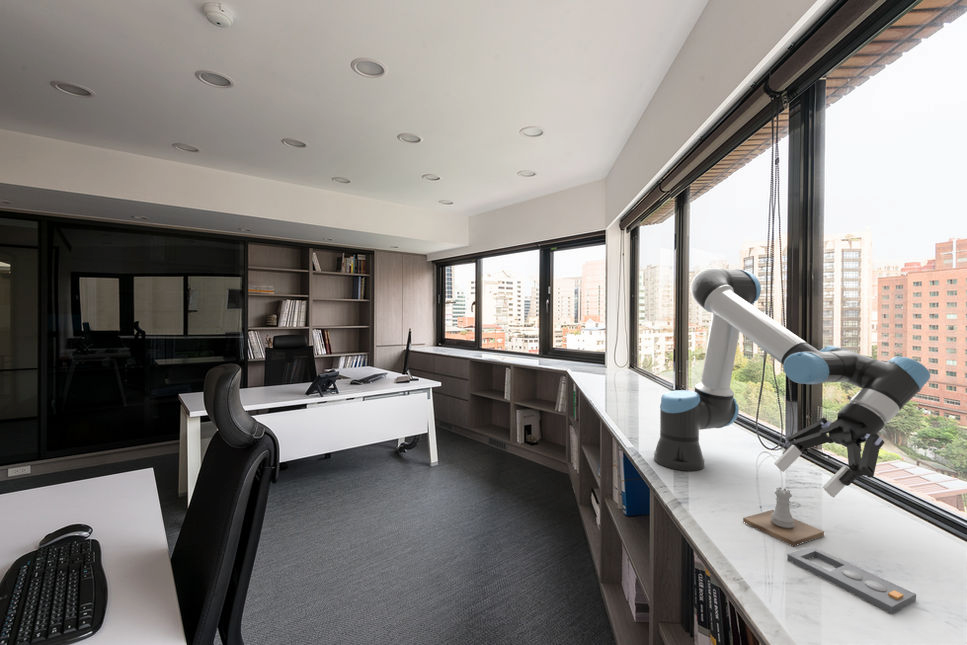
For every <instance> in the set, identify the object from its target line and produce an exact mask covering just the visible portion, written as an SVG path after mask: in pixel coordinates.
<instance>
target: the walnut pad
mask: <svg viewBox="0 0 967 645" xmlns="http://www.w3.org/2000/svg"><path fill="white" fill-rule="evenodd" d="M774 510H775V509H770V510H766V511H763V512H759V513H756V514H752V515H748V516H746V517H742V520H743V521H742V523H744V522H745V523H744V524H746V523H747V524H746V525H748V526H750V527H752V528H755V529H757V530H759V531H761V532H763V533H765V534H766V535H769V536H771V537H774V538H775V539H777V540H779V541H781V542H783V541H784V543H785V542H786V543H785V544H787V543H788V545H790V544H791V545H790V546H792V545H793V546H792V547H796V546H798V545H797V544H799V545H801V544H800V543H802V542H805V543H807V542H806V541H808V542H810V541H809V540H811V541H813V540H816V539H818V538H821V537H824V536H825V531H824V530H822V529H820V528H817V527H815V526H812V525H810V524H808V523H806V522H804V521H800V520H798V519H796V518H793V517H792V518H793V519H794V522H793V523H794V527H792V528H790V529H788V528H782V527H779V526H777V525H775V524H773V523H772V521H771V518H772V517H771V514H772V513H773V512H774ZM815 538H816V539H815ZM812 539H813V540H812ZM802 544H803V543H802ZM795 545H796V546H795Z"/></svg>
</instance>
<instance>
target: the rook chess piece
mask: <svg viewBox="0 0 967 645" xmlns="http://www.w3.org/2000/svg"><path fill="white" fill-rule="evenodd" d="M774 494H775V495H776V498H775V502H776V504H775V508H774V509H773V510H774V512H773V513H772V514H771V517H772V518H771V521H772V523H773V524H775V525H777V526H779V527H782V528H788V529H790V528H792V527H794V523H793V522H794V519H795V518H794V519H793V517H792V516H793V515H792V514H791V510H790V504H791V500H790V499H791V498H792V496H793V495H792V494H791V490H789V489H787V488H785V487H784V488H783V489H782V487H776V490H775V491H774Z"/></svg>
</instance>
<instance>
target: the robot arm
mask: <svg viewBox="0 0 967 645" xmlns="http://www.w3.org/2000/svg"><path fill="white" fill-rule="evenodd" d="M689 290H690V294H691V297H692V298H693V300H694V301H695V302H696V303H697V304H698V305H699V306H700V307H702V308H703V309H704V310H705V311H706V312H708V313H711V320H710V326H709V330H708V337H707V343H706V350H705V355H704V363H703V367H702V374H701V381H700V382H699V383H697V384H695V386H694V391H693V390H689V389H688V390H686V389H682V390H679V389H678V390H670V391H667V392H664V393H663V394H662V396H661V397H660V405H659V408H660V411H659V413H660V414H659V415H660V417H659V418H660V419H659V420H660V422H659V423H660V424H659V425H660V426H659V430H660V431H659V440H658V441H657V445H656V447H655V450H654V453H653V460H654V461H655V462H656V463H657V464H659V465H661V466H663V467H666V468H668V469H669V468H670V469H674V470H677V471H686V472H687V471H690V472H692V471H695V472H696V471H700V470H703V469H704V468H705V458H704V456H703V452H702V448H701V445H700V442H699V441H700V438H699V437H700V431H701V430H702V431H703V430H709V429H721V428H724V427H729V426H731V425H732V424H733V423H735V422H736V420H737V418H738V416H739V412H740V409H739V408H740V407H739V404H738V403H737V399H736V398H735V397H734V396H735V393H734V391H733V390H732V388H731V387H730V386H731V381H732V377H733V375H732V374H733V370H734V365H735V359H736V352H737V347H738V342H739V337H740V333H741V334H742V335H744V336H745V337H746V338H747V339H749V340H750V341H751V342H753V343H754V344H755V345H757V346H758V347H760V349H762V350H763V352H766V353H767V354H768V355H770V356H771V357H772V358H773V359H775V360H776V361H777V362H779V363H780V364H781V365H783V371H784V374H785V376H786V377H787V378H788V379H789V380H791V381H792V382H793V383H797V384H802V385H804V384H805V385H818V384H826V383H840V382H841V383H842V382H843V383H844V382H845V383H847V384H848V383H849V384H851V385H853V386H856V387H858V388H861V389H860V390H859V391H858V392H857V393H855V395H854V396H853V397H852V398H851V399H850V400H849V403H846V404H845V405H844V406H843V407H842V408H841V409H840V410H839V411H838V412H837V417H836V420H834V421H832V422H831V421H829V420H827V418H826V417H821V418H820V419H818V420H817V421H816V422H815V423H813V424H810V425H808V426H807V427H805V428H802V429H801V430H799V431H797V432H795V433H793V434H790V435H789V436H787V438H786V441H788V443H790V444H789V446H788V447H787V448H786V449H784V451H783V452H782V455H780V457H778V459H776V461H775V462H773V465H775V466H776V467H777V468H778V469H779V470H780V471H781V472H783V473H785V471H787V469H789V467H791V465H792V464H793V463H794V462H795V461H796V460H797V459H798V458H799V457H801V455H802V454H803V453H802V451H804V450H806V449H811V448H813V447H817V446H821V445H823V444H833V443H834V444H837V445H842V446H843V447H846V451H847V452H846V453H847V461H848V463H847V464H846V465H843V466H842V467H840V469H839V470H838V471H836V473H835V474H833V475H832V476H831V478H829V479H828V480H827V482H826V483H824V485H822V489H823V490H824V491H825V492H826V493H827V494H828V495H829V496H830V497H832V498H835V497H836V496H837V495H838V494H839V493H840V492H841V491H842V490H843V489H844V488H845V487H847V486H848V487H849V486H850V485H851V484H852V483H853V482H854V481H855V480H857V478H858V477H862V476H864V477H867V478H869V479H870V478H873V477H874V476H875V472H876V471H875V470H876V466H877V462H878V458H879V454H880V453H879V452H880V449H881V448H882V446H884V444H885V441H884V440H883V438H882V437H881V436H879V434H878V433H880V431H881V430H882V429H883V428H884V427H885V424H888V423H889V422H890V420H892V419H893V418H894V417H895V416H896V415H897V414H898V413H899V412H900V411H901V410H902V409H903V408H904V406H905V405H906V404H907V403H909V402H910V401H911V399H913V398H914V397H915V396H916V395H917V394H918V393H920V392H921V390H922V389H923V387H924V386H925V385H926V384H927V383H928V382H929V380H930V378H931V374H930V373H931V372H930V371H929V369H928V368H927V367H926V366H925V365H923V364H922V363H921V362H919V361H917V360H915V359H913V358H909V357H907V356H893V357H892V358H891V359H889V360H887V361H882V360H878V359H875V358H873V357H869V356H866V355H863V354H860V353H858V352H855V351H851V350H849V349H847V348H844V347H839V346H835V345H827V346H825V347H824V348H820V350H818V349H817V348H815V347H814V346H812V345H811V344H809V343H808V342H806V341H805V340H804V339H802V338H801V337H799V336H798V335H796V334H794V333H793V332H792V331H791V330H789V329H787V327H784V326H783V325H781V324H780V323H779V322H777V321H776V320H774V318H771V317H770V316H769V315H767V314H766V313H764V312H763V311H761V310H759V309H758V308H757V307H755V306H754V305H753V304H754V303H755V302H757V301H758V300H759V299H760V296H761V292H762V286H761V282H760V280H759V278H758V277H757V276H756V274H754V273H753V272H750V271H748V270H745V269H744V270H743V269H738V268H736V269H735V268H733V269H732V268H717V267H710V268H706V269H704V270H703V269H702V271H699V272H698V273H697V274H696V275H695V276H694V277H693V279H692V280H691V283H690V289H689ZM863 443H864V446H863V450H862V444H863Z"/></svg>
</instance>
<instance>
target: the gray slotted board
mask: <svg viewBox="0 0 967 645" xmlns="http://www.w3.org/2000/svg"><path fill="white" fill-rule="evenodd" d="M786 556H787V559H786V560H787V562H791V563H793V564H794V565H796V566H798V567H800V568H802V569H804V570H806V571H807V572H810V573H812V574H813V575H816V576H818V577H819V578H821V579H824V580H825V581H827V582H829V583H831V584H833V585H835V586H837V587H838V588H840V589H842V590H845V591H847V592H849V593H851V594H852V595H854V596H856V597H858V598H861V599H862V600H864V601H866V602H868V603H870V604H871V605H874V606H875V607H877V608H879V609H882V610H883V611H885V612H887V613H889V614H891V615H893V614H894V613H896V612H898V611H901V609H904V608H905V607H908V606H909V605H911V604H913V603H915V602H916V601H917V593H915V592H912V591H910V590H908V589H906V588H904V587H902V586H899V585H897V584H895V583H893V582H891V581H889V580H888V579H887V580H886V579H885V578H883V577H880V576H878V575H876V574H874V573H872V572H870V571H867V570H865V569H863V568H861V567H858V566H857V565H854V564H852V563H849V562H848V561H846V560H843V559H841V558H839V557H837V556H834V555H832V554H831V553H829V552H826V551H824V550H822V549H821V548H820V549H819V548H817V547H815V546H813V545H810V546H807V547H803V548H801V549H797V550H795V551H792V552H790V553H787V555H786ZM812 557H813V558H817V559H818V560H821V561H823V562H825V563H827V564H829V565H831V566H834V567H836V568H834V569H832V570H829V569H826V568H824V567H822V566H820V565H818V564H816V563H814V562H813V561H810V559H809V558H811V559H813V558H812ZM807 559H808V560H807Z"/></svg>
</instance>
